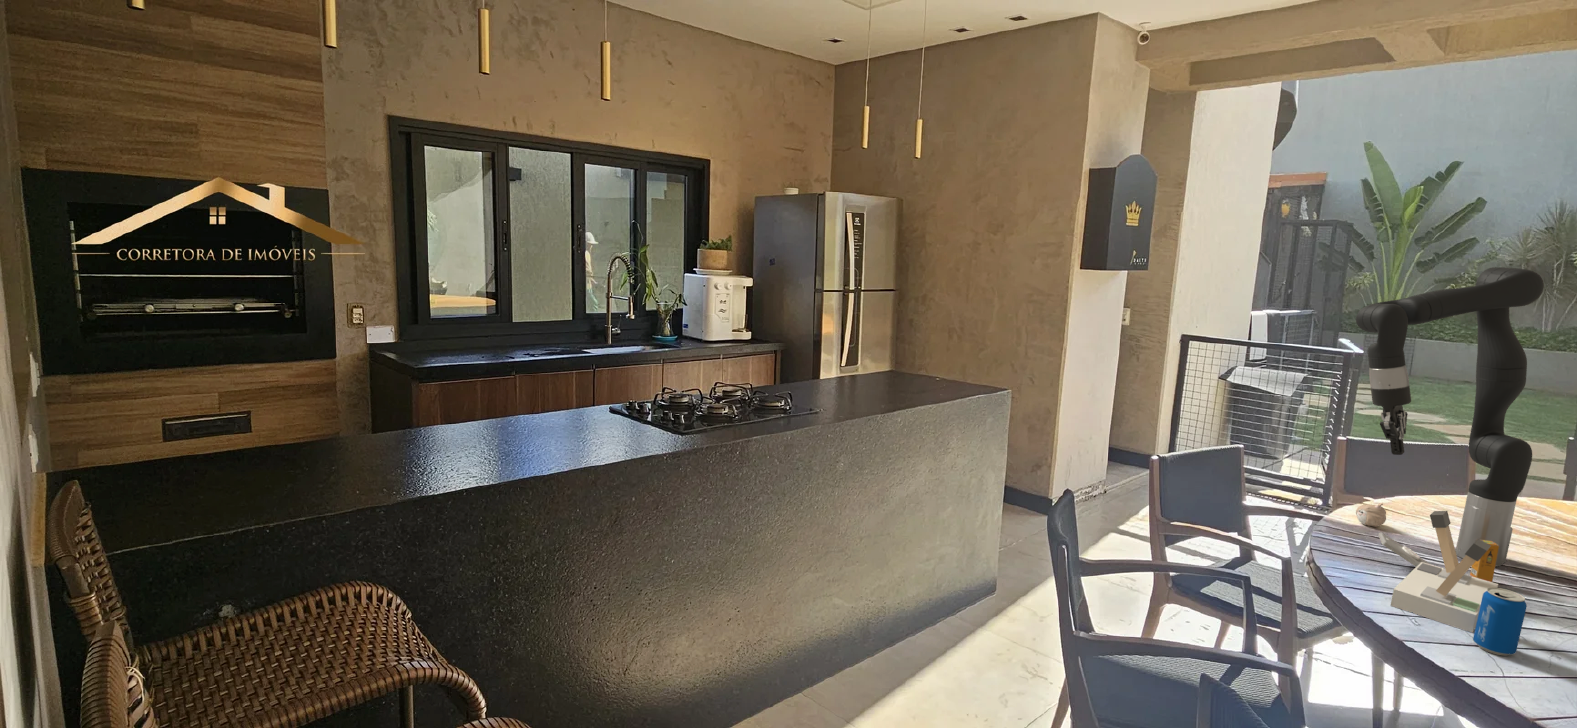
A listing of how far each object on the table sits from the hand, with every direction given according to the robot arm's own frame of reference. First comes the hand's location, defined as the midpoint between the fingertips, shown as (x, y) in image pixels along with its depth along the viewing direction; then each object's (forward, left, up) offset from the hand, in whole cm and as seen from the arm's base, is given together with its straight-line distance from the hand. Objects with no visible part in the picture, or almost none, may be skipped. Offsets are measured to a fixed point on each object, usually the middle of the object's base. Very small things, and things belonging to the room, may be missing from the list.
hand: (1398, 453), depth 188 cm
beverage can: (+13, +38, -29) cm, 49 cm away
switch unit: (+4, +20, -29) cm, 35 cm away
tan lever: (+10, +24, -23) cm, 35 cm away
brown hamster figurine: (-21, -23, -29) cm, 43 cm away
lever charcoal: (-3, +15, -23) cm, 28 cm away
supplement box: (-17, +11, -29) cm, 36 cm away
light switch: (-5, +3, -29) cm, 30 cm away
